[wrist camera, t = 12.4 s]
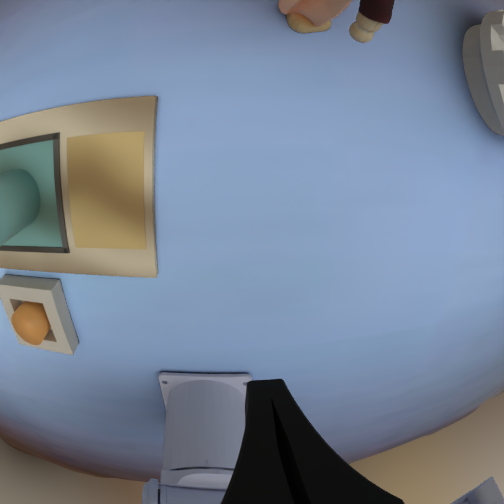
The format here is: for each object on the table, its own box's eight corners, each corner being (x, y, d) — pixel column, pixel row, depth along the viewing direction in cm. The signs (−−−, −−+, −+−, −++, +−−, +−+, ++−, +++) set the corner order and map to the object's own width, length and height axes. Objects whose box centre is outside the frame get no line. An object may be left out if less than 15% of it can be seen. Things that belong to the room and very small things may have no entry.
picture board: (157, 273, 18) (155, 279, 17) (3, 264, 16) (-2, 268, 15) (157, 96, 13) (154, 95, 13) (-14, 127, 11) (-20, 128, 11)
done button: (58, 329, 19) (48, 347, 16) (31, 324, 18) (19, 341, 16) (48, 296, 17) (34, 314, 15) (20, 293, 17) (6, 309, 15)
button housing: (79, 342, 20) (73, 355, 18) (26, 333, 19) (19, 343, 17) (60, 279, 17) (50, 290, 16) (5, 274, 16) (-5, 283, 15)
